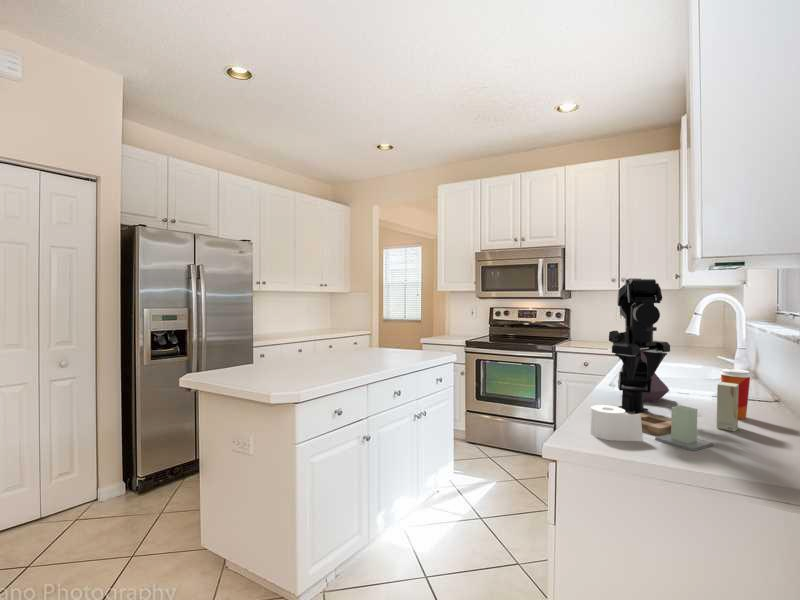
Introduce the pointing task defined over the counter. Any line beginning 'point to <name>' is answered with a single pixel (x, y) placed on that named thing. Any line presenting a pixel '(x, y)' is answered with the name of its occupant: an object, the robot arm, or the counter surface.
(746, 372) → the paper cup
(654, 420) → the pocket block
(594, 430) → the toilet paper
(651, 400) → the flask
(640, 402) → the robot arm
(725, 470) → the counter surface
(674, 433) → the green block
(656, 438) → the coaster
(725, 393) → the skincare box
